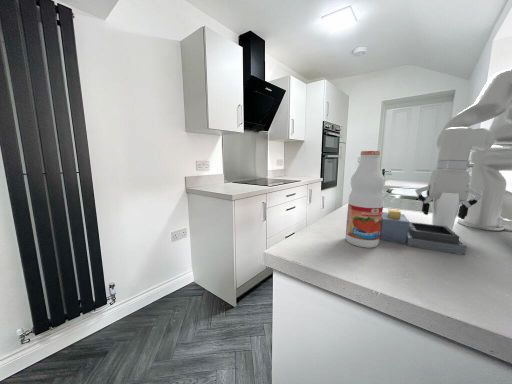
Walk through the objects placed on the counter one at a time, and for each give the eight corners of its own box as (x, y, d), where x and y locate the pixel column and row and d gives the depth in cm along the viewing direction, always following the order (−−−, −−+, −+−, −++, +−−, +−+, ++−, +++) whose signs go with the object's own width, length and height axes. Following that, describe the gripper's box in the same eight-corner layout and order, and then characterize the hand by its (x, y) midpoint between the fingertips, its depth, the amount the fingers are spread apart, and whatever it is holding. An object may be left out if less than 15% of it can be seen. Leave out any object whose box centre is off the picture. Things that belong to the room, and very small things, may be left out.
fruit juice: (367, 236, 71) (376, 151, 67) (385, 248, 62) (397, 150, 57) (340, 236, 71) (347, 151, 66) (354, 248, 61) (363, 150, 57)
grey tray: (447, 239, 70) (452, 212, 68) (464, 254, 58) (470, 223, 57) (372, 228, 79) (374, 205, 78) (373, 240, 68) (376, 213, 66)
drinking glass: (429, 229, 79) (435, 189, 77) (454, 234, 74) (461, 192, 72) (427, 233, 74) (433, 191, 72) (453, 239, 70) (461, 194, 67)
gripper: (481, 167, 70) (471, 217, 73) (417, 165, 78) (410, 210, 80) (493, 167, 63) (482, 222, 66) (422, 165, 71) (414, 214, 73)
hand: (442, 216), depth 73 cm, fingers open, 9 cm apart
